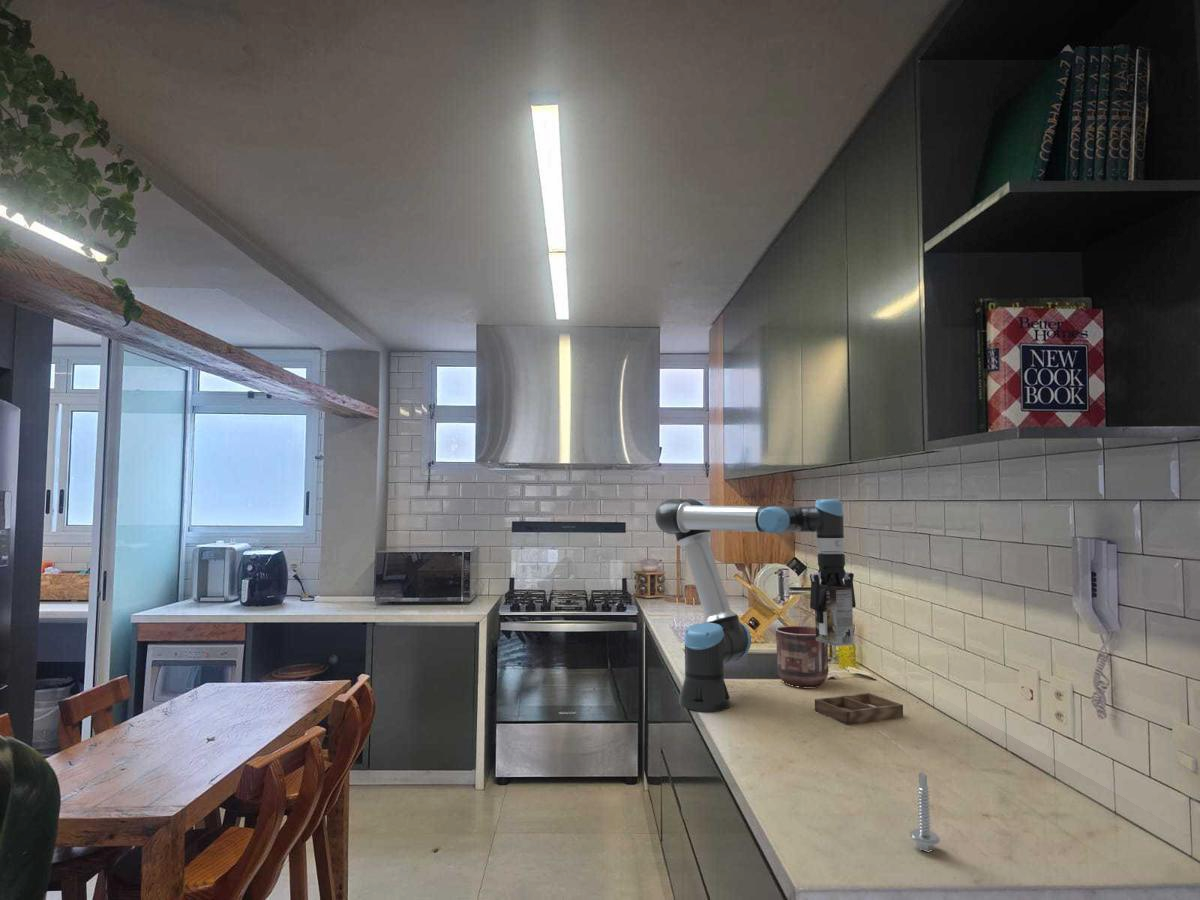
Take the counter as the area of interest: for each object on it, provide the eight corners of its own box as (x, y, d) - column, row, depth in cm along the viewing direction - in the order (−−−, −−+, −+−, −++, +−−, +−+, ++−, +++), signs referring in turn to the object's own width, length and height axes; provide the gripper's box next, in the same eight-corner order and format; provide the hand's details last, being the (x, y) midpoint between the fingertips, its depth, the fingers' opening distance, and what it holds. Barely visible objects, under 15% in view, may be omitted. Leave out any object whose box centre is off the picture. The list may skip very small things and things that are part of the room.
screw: (938, 858, 117) (907, 850, 119) (942, 846, 121) (912, 839, 123) (935, 779, 118) (905, 773, 120) (939, 770, 122) (910, 764, 124)
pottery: (834, 692, 221) (833, 635, 223) (778, 689, 224) (778, 633, 226) (825, 679, 239) (824, 626, 240) (773, 676, 241) (773, 624, 243)
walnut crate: (847, 725, 188) (847, 712, 188) (814, 711, 200) (814, 699, 200) (903, 717, 195) (902, 704, 195) (868, 704, 207) (868, 692, 208)
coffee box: (814, 641, 198) (812, 584, 200) (832, 639, 201) (830, 583, 202) (836, 646, 190) (834, 587, 191) (854, 644, 192) (852, 586, 194)
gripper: (810, 554, 191) (813, 638, 189) (867, 552, 198) (871, 633, 195) (794, 553, 198) (797, 634, 196) (849, 551, 205) (853, 629, 202)
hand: (834, 633), depth 196 cm, fingers closed on coffee box, 7 cm apart
